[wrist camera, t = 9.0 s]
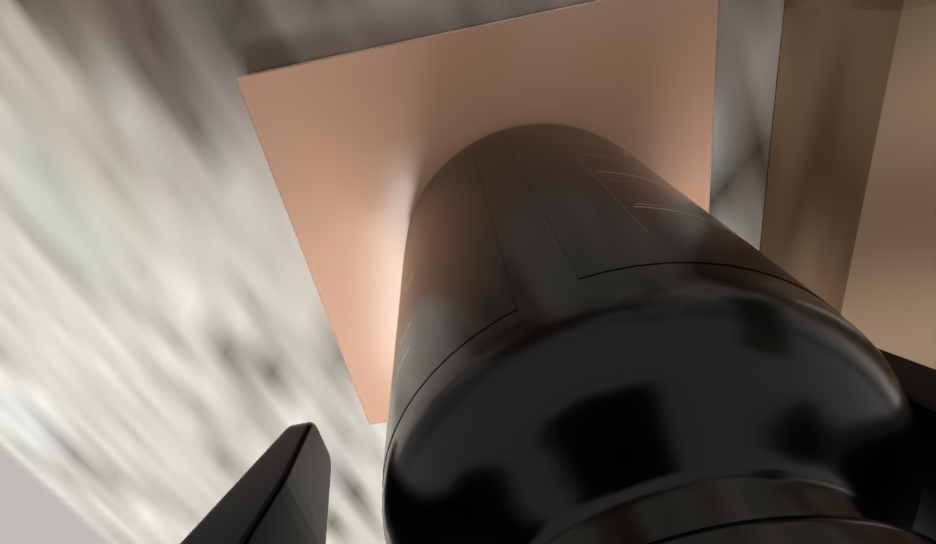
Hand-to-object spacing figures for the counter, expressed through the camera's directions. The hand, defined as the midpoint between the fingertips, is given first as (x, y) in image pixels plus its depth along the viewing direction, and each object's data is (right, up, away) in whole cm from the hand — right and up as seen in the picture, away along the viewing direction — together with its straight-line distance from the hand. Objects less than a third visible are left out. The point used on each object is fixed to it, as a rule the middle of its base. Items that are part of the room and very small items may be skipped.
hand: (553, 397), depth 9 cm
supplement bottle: (0, +3, +5) cm, 6 cm away
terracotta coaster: (0, +3, +6) cm, 7 cm away
